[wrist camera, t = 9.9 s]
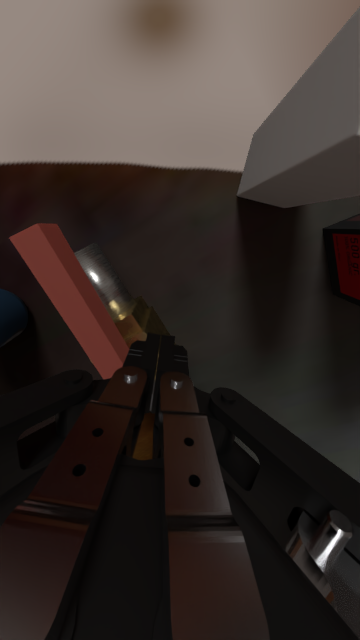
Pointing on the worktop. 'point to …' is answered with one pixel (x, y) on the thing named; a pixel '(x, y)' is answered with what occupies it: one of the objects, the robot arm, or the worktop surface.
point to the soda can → (11, 316)
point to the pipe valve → (119, 299)
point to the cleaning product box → (344, 258)
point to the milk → (312, 133)
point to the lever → (73, 295)
